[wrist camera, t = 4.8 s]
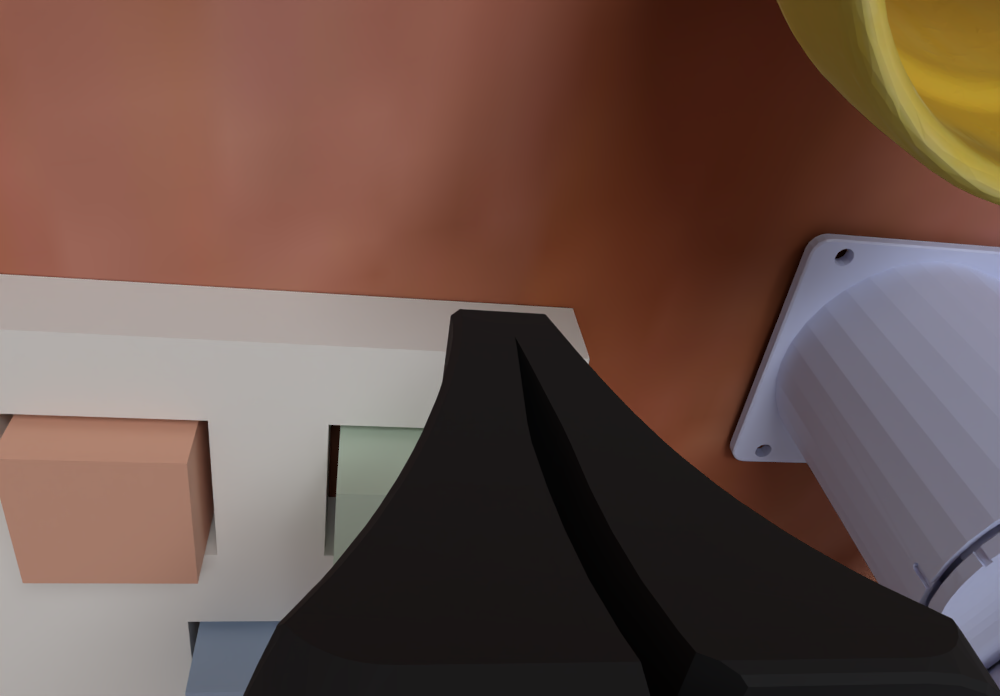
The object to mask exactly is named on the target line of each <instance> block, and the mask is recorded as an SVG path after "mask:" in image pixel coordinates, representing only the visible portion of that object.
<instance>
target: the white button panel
mask: <svg viewBox="0 0 1000 696" xmlns="http://www.w3.org/2000/svg"><path fill="white" fill-rule="evenodd" d="M459 309H468V310H486V311H503V312H520V313H537V314H546V315H547V317H548V318H549V319H550V320H551V321H552V322H553V323H554V325H555V326H556V327H557V328H558V329H559V330H560V332H561V333H562V334H563V335H564V336H565V338H566V339H567V340H568V341H569V342H570V344H571V345H572V346H573V347H574V348H575V349H576V351H577V352H578V353H579V354H580V355H581V356H582V357H583V359H584V360H585V361H586V362H587V363H588V364H589V360H590V358H589V355H588V352H587V349H586V346H585V343H584V340H583V337H582V334H581V331H580V328H579V326H578V323H577V320H576V317H575V314H574V311H573V308H559V307H542V306H525V305H508V304H492V303H475V302H458V301H441V300H425V299H408V298H391V297H375V296H358V295H341V294H324V293H308V292H291V291H274V290H257V289H241V288H224V287H207V286H191V285H174V284H157V283H140V282H124V281H107V280H90V279H73V278H57V277H40V276H23V275H7V274H0V439H1V437H2V435H3V433H4V432H5V430H6V428H7V426H8V424H9V423H10V421H11V419H12V417H13V415H14V414H24V415H54V416H83V417H113V418H143V419H172V420H202V421H208V429H209V443H210V458H211V472H212V486H213V500H214V513H213V518H212V522H211V527H210V531H209V536H208V540H207V545H206V549H205V554H204V558H203V563H202V567H201V572H200V576H199V581H198V584H131V583H23V582H22V579H21V575H20V571H19V567H18V564H17V560H16V556H15V552H14V549H13V545H12V541H11V537H10V534H9V530H8V526H7V522H6V519H5V515H4V511H3V507H2V504H1V500H0V696H186V695H185V691H186V686H187V682H188V677H189V672H190V667H191V663H192V658H193V653H194V648H195V643H196V639H197V634H198V629H199V624H200V622H220V621H281V620H282V619H283V618H284V617H285V616H286V615H287V614H288V613H289V612H290V611H291V610H292V609H293V608H294V607H295V606H296V605H297V604H298V603H299V602H300V601H301V600H302V599H303V597H304V596H305V595H306V594H307V593H308V592H309V591H310V590H311V589H312V588H313V587H314V586H315V585H316V584H317V583H318V582H319V581H320V580H321V579H322V578H323V577H324V576H325V575H326V573H327V572H328V571H329V570H330V569H331V568H332V567H333V557H334V534H335V510H336V497H328V495H329V467H330V439H331V425H350V426H380V427H410V428H424V427H425V424H426V422H427V420H428V417H429V415H430V413H431V410H432V408H433V406H434V403H435V401H436V399H437V396H438V393H439V390H440V387H441V384H442V380H443V372H444V364H445V356H446V348H447V341H448V333H449V325H450V317H451V315H452V314H454V313H455V312H456V311H458V310H459Z"/></svg>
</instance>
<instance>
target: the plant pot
mask: <svg viewBox="0 0 1000 696" xmlns="http://www.w3.org/2000/svg"><path fill="white" fill-rule="evenodd" d="M777 3H778V5H779V7H780V9H781V12H782V14H783V16H784V18H785V20H786V22H787V24H788V25H789V27H790V29H791V31H792V33H793V35H794V36H795V38H796V39H797V41H798V42H799V44H800V45H801V47H802V48H803V50H804V52H805V53H806V55H807V56H808V58H809V59H810V60H811V61H812V63H813V64H814V65H815V66H816V68H817V69H818V70H819V71H820V73H821V74H822V75H823V76H824V77H825V78H826V79H827V80H828V81H829V82H830V83H831V84H832V85H833V86H834V87H835V88H836V89H837V90H838V91H839V92H840V93H841V94H842V95H843V96H844V97H845V98H846V99H847V101H848V102H850V103H851V104H852V105H853V106H854V107H855V108H856V109H857V110H858V111H859V112H860V113H861V114H862V115H864V116H865V117H866V118H867V119H868V120H869V121H870V122H871V123H872V124H874V125H875V126H876V127H877V128H878V129H879V130H880V131H882V132H883V133H884V134H885V135H887V136H888V137H889V138H890V139H892V140H893V141H894V142H895V143H896V144H898V145H899V146H900V147H901V148H903V149H904V150H905V151H906V152H908V153H909V154H910V155H911V156H913V157H914V158H915V159H917V160H918V161H919V162H920V163H922V164H923V165H924V166H926V167H927V168H928V169H929V170H931V171H932V172H934V173H936V174H937V175H939V176H940V177H942V178H943V179H945V180H946V181H948V182H949V183H951V184H952V185H954V186H956V187H958V188H960V189H962V190H964V191H966V192H968V193H970V194H972V195H974V196H976V197H979V198H982V199H984V200H987V201H990V202H992V203H995V204H998V205H1000V0H777Z"/></svg>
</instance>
